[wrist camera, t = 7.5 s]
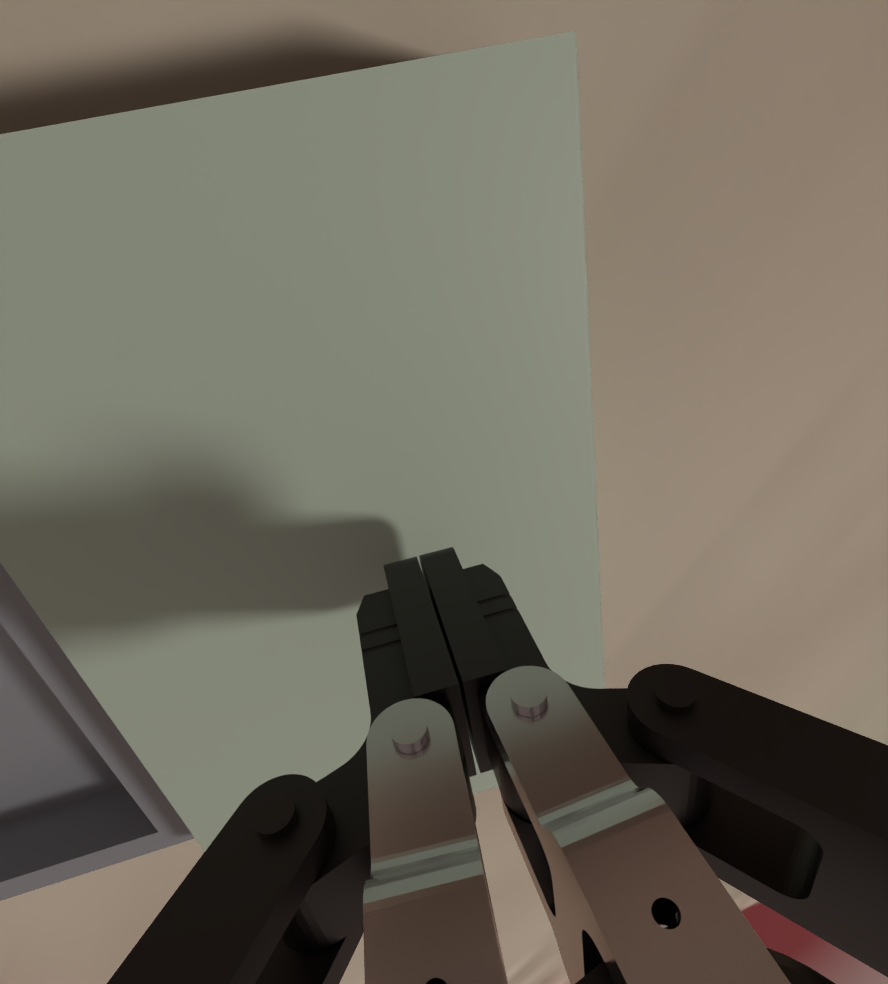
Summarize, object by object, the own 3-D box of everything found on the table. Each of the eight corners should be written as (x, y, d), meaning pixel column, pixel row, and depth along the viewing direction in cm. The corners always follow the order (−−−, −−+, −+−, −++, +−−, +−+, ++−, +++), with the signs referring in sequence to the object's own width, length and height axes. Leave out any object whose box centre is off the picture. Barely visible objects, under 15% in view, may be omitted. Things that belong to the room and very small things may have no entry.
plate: (-95, 182, 11) (-268, 182, 8) (498, 72, 12) (575, 30, 9) (234, 758, 20) (222, 877, 17) (557, 659, 21) (607, 750, 18)
